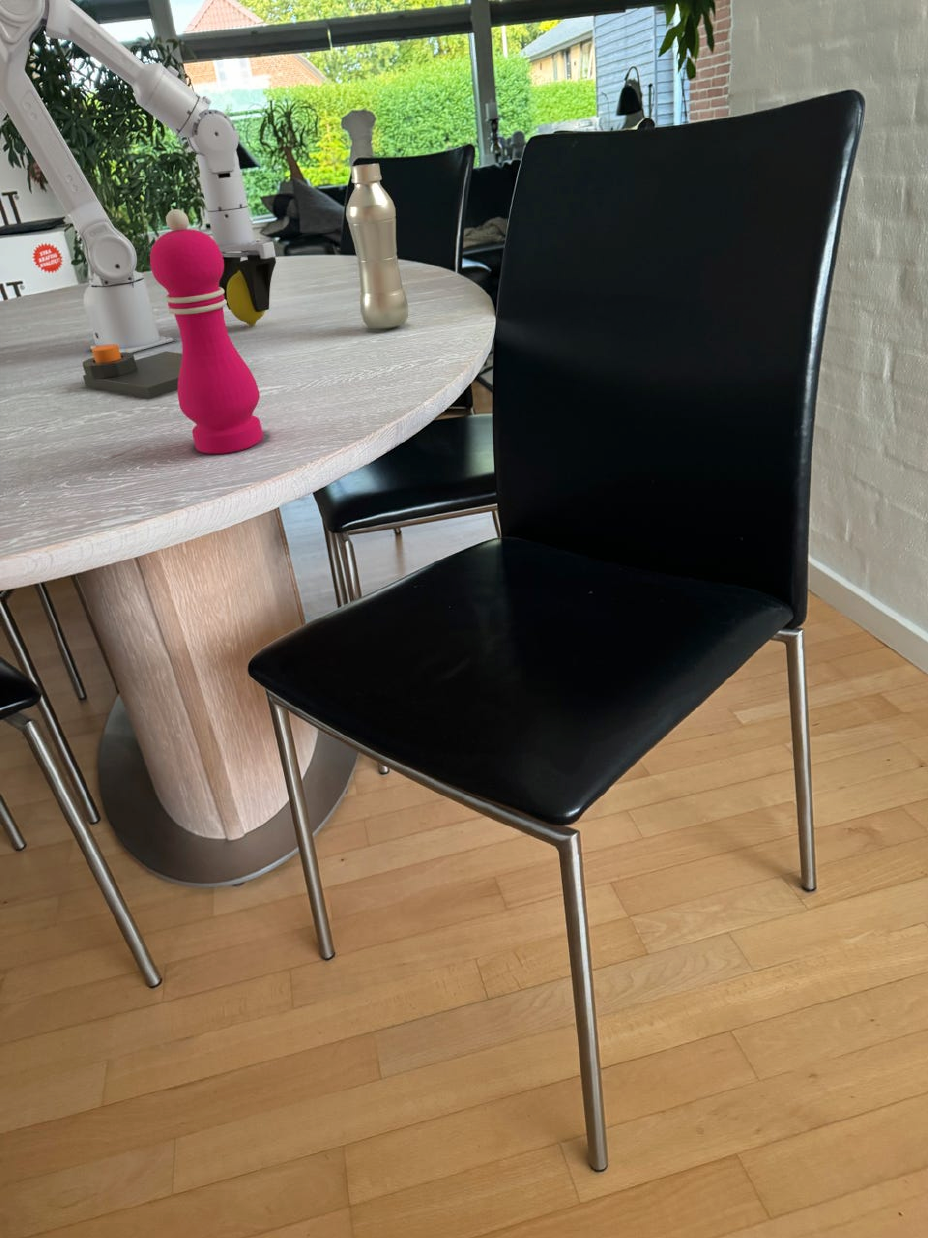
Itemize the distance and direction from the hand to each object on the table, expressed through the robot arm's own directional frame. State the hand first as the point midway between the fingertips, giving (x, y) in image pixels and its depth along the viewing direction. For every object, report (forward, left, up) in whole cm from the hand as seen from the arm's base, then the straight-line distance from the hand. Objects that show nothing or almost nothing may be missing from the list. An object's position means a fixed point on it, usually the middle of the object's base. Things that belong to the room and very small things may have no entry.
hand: (248, 309), depth 128 cm
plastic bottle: (+23, +5, -3) cm, 24 cm away
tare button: (+8, -28, 0) cm, 30 cm away
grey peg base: (+13, -25, -2) cm, 28 cm away
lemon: (0, 0, -3) cm, 3 cm away
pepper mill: (+42, -37, -3) cm, 56 cm away
